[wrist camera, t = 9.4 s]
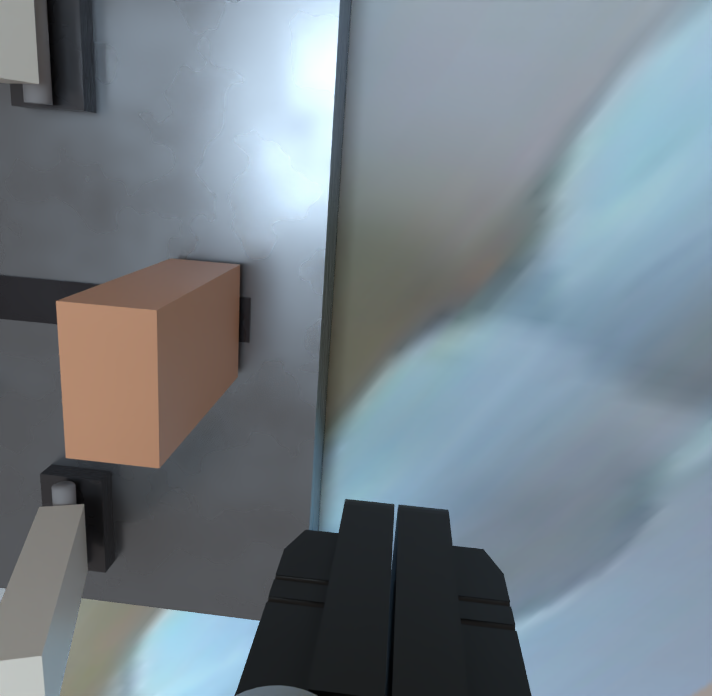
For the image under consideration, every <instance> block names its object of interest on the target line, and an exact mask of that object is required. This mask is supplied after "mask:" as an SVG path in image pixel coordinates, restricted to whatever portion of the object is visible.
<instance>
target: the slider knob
mask: <svg viewBox="0 0 712 696" xmlns="http://www.w3.org/2000/svg"><path fill="white" fill-rule="evenodd" d="M239 298H240V264H230V263H218V262H207V261H195V260H184V259H172V258H170V259H168V260H165V261H162V262H160V263H157V264H154V265H151V266H149V267H146V268H143V269H141V270H138V271H135V272H133V273H130V274H127V275H124V276H122V277H119V278H116V279H114V280H111V281H108V282H106V283H103V284H100V285H98V286H95V287H92V288H89V289H87V290H84V291H81V292H79V293H76V294H73V295H71V296H68V297H65V298H62V299H60V300H57V301H56V311H57V327H58V342H59V358H60V374H61V390H62V405H63V421H64V437H65V453H66V458H70V459H79V460H88V461H97V462H106V463H115V464H124V465H133V466H142V467H151V468H160V467H161V466H162V465H163V464H164V463H165V461H166V460H167V459H168V458H169V457H170V456H171V454H172V453H173V452H174V451H175V450H176V449H177V447H178V446H179V445H180V444H181V443H182V442H183V440H184V439H185V438H186V437H187V436H188V435H189V433H190V432H191V431H192V430H193V429H194V428H195V426H196V425H197V424H198V423H199V422H200V421H201V419H202V418H203V417H204V416H205V415H206V414H207V412H208V411H209V410H210V409H211V408H212V407H213V405H214V404H215V403H216V402H217V401H218V400H219V398H220V397H221V396H222V395H223V394H224V392H225V391H226V390H227V389H228V388H229V387H230V385H231V384H232V383H233V382H234V381H235V380H236V378H237V377H238V348H239Z"/></svg>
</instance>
